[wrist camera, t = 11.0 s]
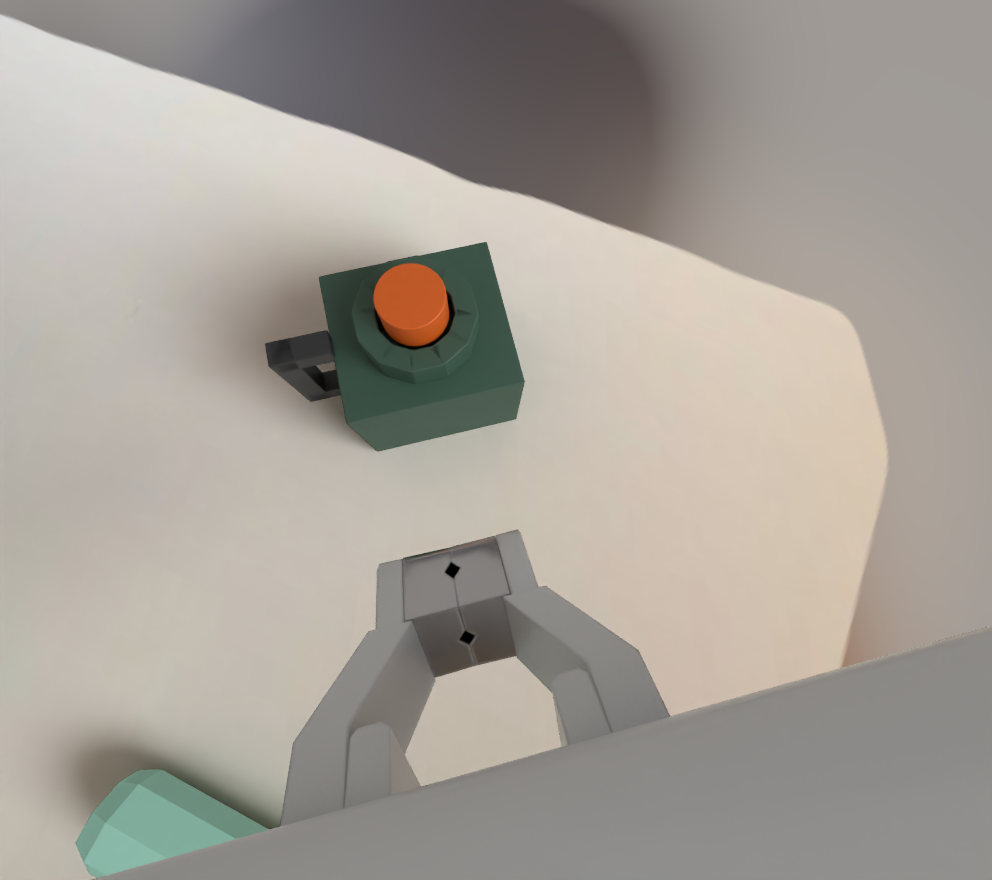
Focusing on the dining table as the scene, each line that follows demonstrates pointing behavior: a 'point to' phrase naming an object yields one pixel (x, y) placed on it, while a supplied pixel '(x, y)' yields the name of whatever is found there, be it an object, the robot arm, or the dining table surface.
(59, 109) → the dining table surface
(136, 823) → the container
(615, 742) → the robot arm
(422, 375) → the button housing
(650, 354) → the dining table surface
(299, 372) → the jug handle
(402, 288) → the button
